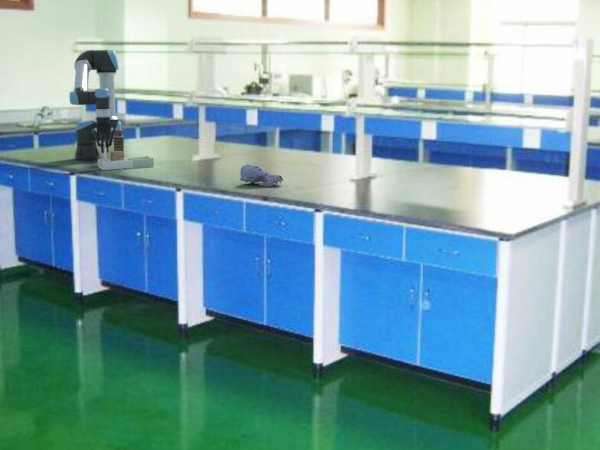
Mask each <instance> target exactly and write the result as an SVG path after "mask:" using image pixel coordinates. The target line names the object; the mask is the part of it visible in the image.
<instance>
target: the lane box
mask: <svg viewBox="0 0 600 450" xmlns="http://www.w3.org/2000/svg"><path fill="white" fill-rule="evenodd" d="M154 162H155V161H154V157H152V156H149V155H146V156H131V157H128V156H127V157H124V160H123V161H111V158H107V159H103V158H100V159H97V168H98V169H100V170H102V171H107V170H108V171H109V170H111V171H112V170H123V169H124V168H126V169H138V168H139V169H140V168H152V167H153V168H154V166H155V165H154Z"/></svg>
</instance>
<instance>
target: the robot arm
mask: <svg viewBox="0 0 600 450" xmlns="http://www.w3.org/2000/svg"><path fill="white" fill-rule="evenodd" d="M73 66H74V70H75V76H74V89H73V90H71V91H70V92H69V102H70V105H72V106H84V105H85V106H86V105H91V106H92V105H93V106H95V117H96V118H95V119H86V120H81V121H78V122H76V123H75V133H76V134H75V135H76V148H75V152H74V160H76V161H94V160H95V161H96V160H98V159H101V154H103V158H102V159H108V153H110V152H109V147H111V146H112V145H113V142H114V140H113V139H114V137H113V136H114V132H115V130H116V129H122V122H121V121H120V120H119V117H117V114H116V113H117V111H116V95H115V92H116V91H115V88H116V87H115V75H116V74H117V71H118V70H119V62H118V57H117V52H116V51H115V50H111V49H96V50H95V49H94V50H93V49H89V50H86V51H83V52H82V53H80V54H79V55H78V56H77V57H76V59H75V62H74V65H73ZM91 71H96V74H97V75H98V76H99V77H98V79H99V88H95V90H93V91H92V90H91V91H90V90H89V79H90V78H89V77H90V72H91ZM104 142H105V144H104ZM98 147H100V150H101V151H99V148H98ZM100 152H101V153H100Z"/></svg>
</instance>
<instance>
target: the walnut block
mask: <svg viewBox="0 0 600 450" xmlns="http://www.w3.org/2000/svg"><path fill="white" fill-rule="evenodd" d="M109 153H110V159H111V161H123V160H124V158H125V151H124V152H122V151H114V150H111V151H110V152H109Z"/></svg>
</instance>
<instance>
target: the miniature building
mask: <svg viewBox="0 0 600 450" xmlns="http://www.w3.org/2000/svg"><path fill="white" fill-rule="evenodd" d="M113 137H114V139H113V140H114V141H113V151H122V152H124V153H125V150H124V149H125V147H124V146H125V143H124V142H125V137H124V135H123V129H122V128H121V129H116V130H115V132H114V136H113Z"/></svg>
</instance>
